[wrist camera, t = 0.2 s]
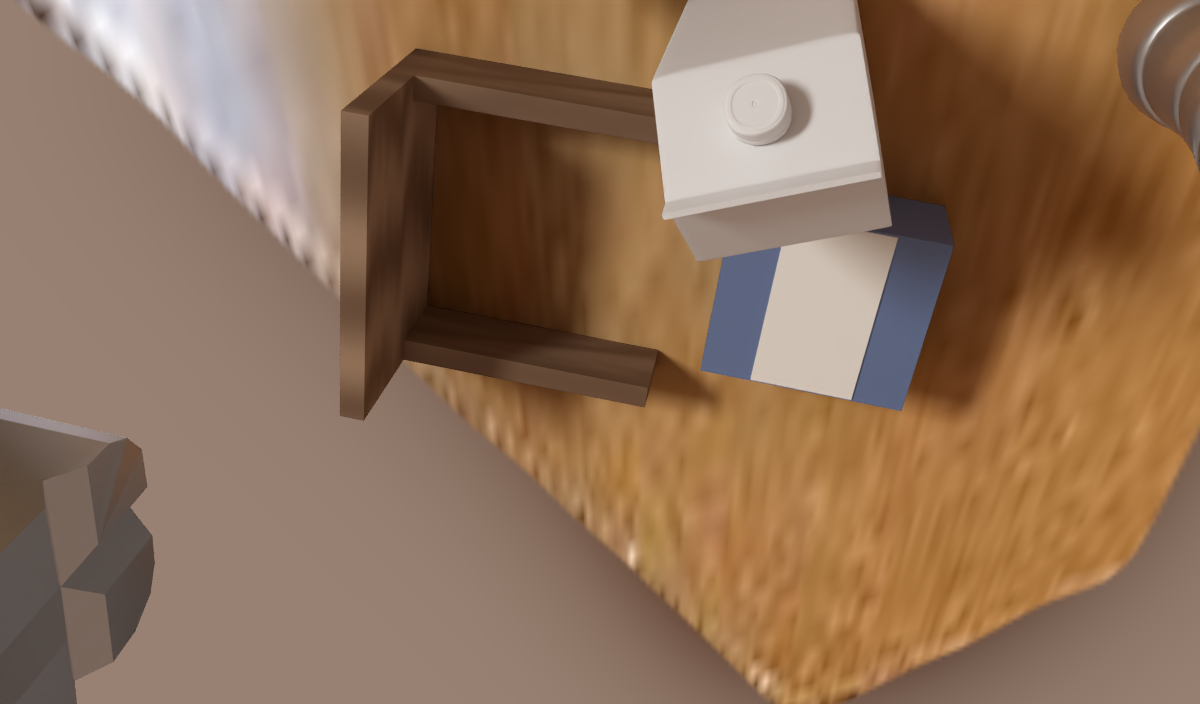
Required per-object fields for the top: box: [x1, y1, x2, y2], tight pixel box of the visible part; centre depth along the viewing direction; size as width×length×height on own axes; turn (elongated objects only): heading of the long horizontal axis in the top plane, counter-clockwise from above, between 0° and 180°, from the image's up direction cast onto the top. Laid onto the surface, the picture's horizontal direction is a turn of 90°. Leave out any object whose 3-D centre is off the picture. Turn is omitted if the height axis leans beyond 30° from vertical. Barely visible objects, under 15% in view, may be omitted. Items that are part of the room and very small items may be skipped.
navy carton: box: [701, 196, 954, 411], centre depth 56 cm, size 9×10×5 cm
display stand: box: [340, 49, 658, 421], centre depth 55 cm, size 15×14×10 cm
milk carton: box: [652, 0, 892, 261], centre depth 45 cm, size 7×7×19 cm
